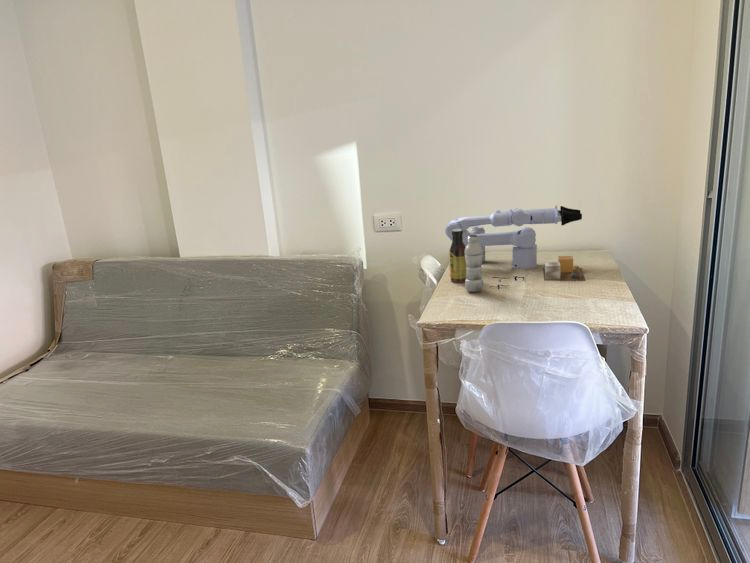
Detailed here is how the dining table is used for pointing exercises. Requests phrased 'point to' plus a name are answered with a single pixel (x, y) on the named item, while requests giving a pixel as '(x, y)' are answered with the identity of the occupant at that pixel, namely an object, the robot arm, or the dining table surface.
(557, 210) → the robot arm
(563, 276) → the board
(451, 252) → the sauce bottle
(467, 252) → the plastic bottle
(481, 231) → the energy drink can
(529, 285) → the dining table surface
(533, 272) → the dining table surface
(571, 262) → the kraft paper cube
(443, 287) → the dining table surface
